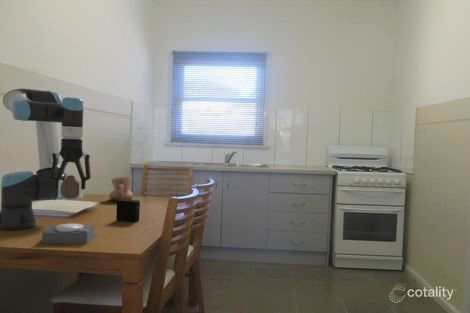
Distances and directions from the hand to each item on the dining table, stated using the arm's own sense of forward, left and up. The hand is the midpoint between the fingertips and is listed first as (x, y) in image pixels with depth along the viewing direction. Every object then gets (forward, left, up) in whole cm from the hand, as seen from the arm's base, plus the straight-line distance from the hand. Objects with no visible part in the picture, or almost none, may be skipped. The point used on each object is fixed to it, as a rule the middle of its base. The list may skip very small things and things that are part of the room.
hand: (70, 197), depth 148 cm
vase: (0, 0, -1) cm, 1 cm away
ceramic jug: (+7, +89, -17) cm, 91 cm away
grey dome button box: (0, 0, -16) cm, 16 cm away
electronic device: (+18, +33, -17) cm, 41 cm away
